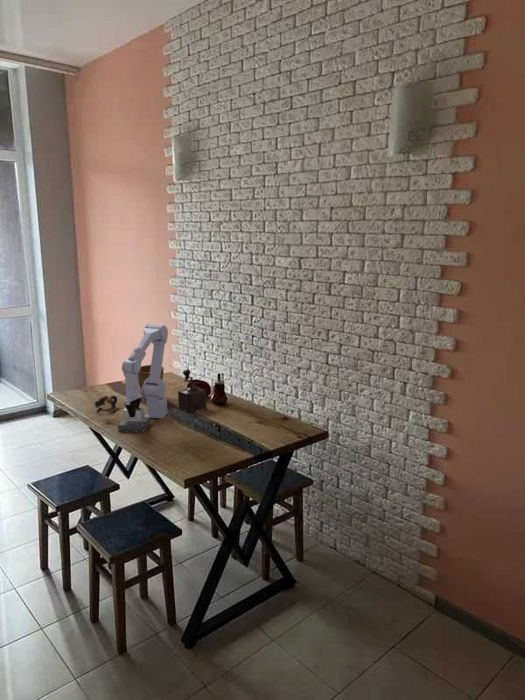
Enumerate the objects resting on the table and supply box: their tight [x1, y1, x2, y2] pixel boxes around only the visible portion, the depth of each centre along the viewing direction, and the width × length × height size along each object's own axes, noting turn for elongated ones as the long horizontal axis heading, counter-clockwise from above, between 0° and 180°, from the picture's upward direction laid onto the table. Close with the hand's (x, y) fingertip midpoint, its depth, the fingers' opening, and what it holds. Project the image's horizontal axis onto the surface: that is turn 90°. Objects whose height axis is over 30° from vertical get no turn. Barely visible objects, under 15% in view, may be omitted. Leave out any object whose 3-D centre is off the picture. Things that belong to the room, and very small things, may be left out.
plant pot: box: [138, 364, 165, 398], centre depth 288 cm, size 15×15×16 cm
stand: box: [117, 417, 151, 433], centre depth 245 cm, size 11×11×3 cm
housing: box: [122, 407, 145, 420], centre depth 244 cm, size 8×4×5 cm, turn 83°
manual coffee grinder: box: [177, 369, 208, 414], centre depth 271 cm, size 16×11×18 cm
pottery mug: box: [93, 395, 118, 411], centre depth 270 cm, size 12×10×8 cm
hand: (133, 415), depth 244 cm, fingers closed on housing, 4 cm apart
